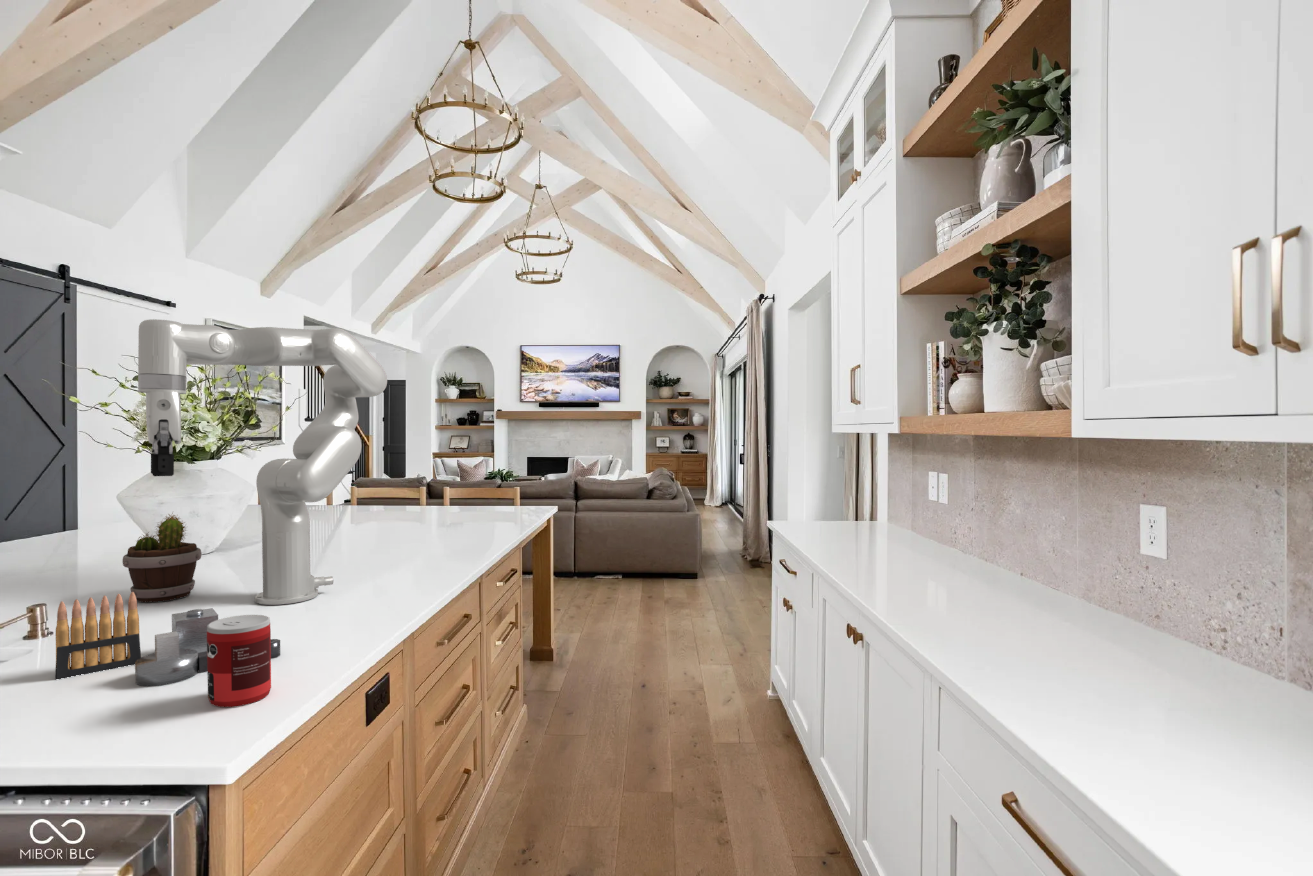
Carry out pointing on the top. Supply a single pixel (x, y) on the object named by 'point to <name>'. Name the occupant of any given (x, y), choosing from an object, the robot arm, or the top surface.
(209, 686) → the canned food
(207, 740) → the top surface
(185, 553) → the flowerpot
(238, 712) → the top surface
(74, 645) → the ammunition clip
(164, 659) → the ratchet
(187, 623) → the socket
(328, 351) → the robot arm
